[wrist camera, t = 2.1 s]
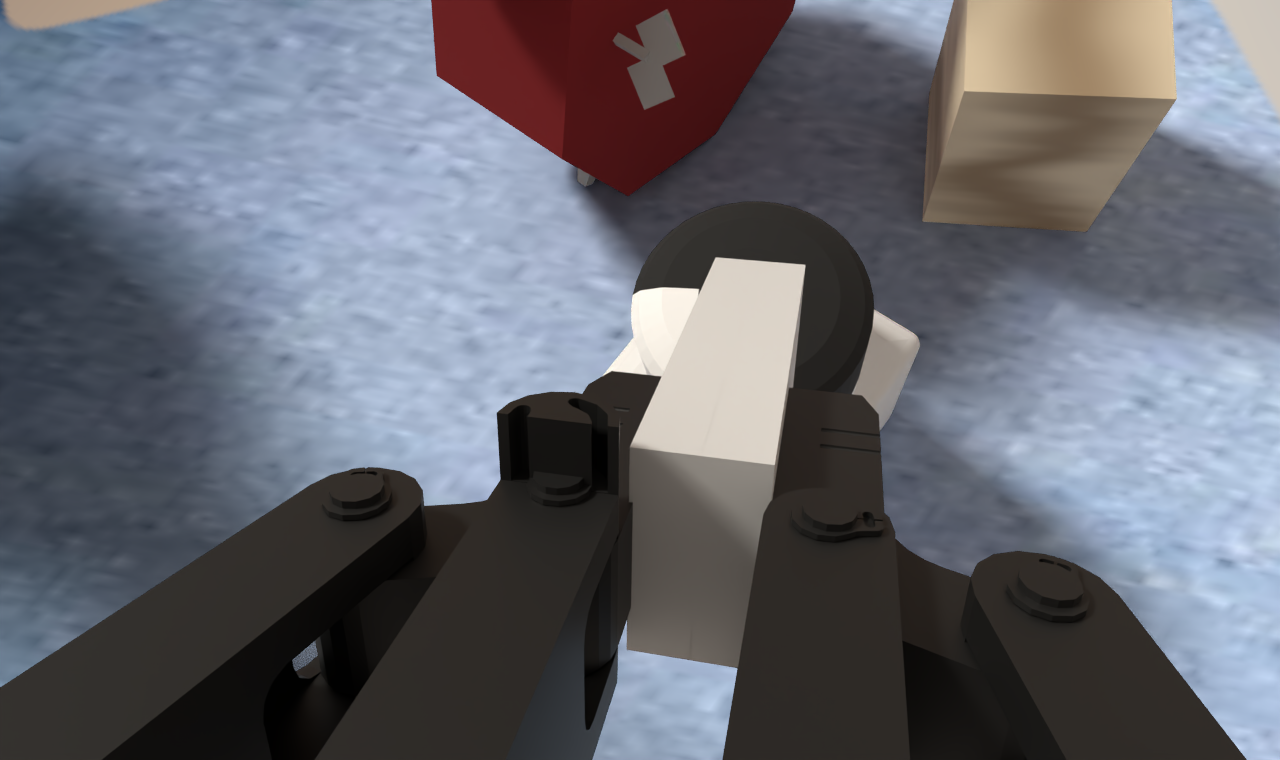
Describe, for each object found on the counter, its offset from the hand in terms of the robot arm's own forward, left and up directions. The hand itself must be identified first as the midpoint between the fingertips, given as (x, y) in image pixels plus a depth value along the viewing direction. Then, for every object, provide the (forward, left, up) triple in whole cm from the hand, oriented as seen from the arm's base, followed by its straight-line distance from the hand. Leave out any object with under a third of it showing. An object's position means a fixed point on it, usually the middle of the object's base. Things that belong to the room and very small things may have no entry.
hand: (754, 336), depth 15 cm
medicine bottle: (-1, +3, -18) cm, 18 cm away
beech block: (+4, +17, -18) cm, 25 cm away
